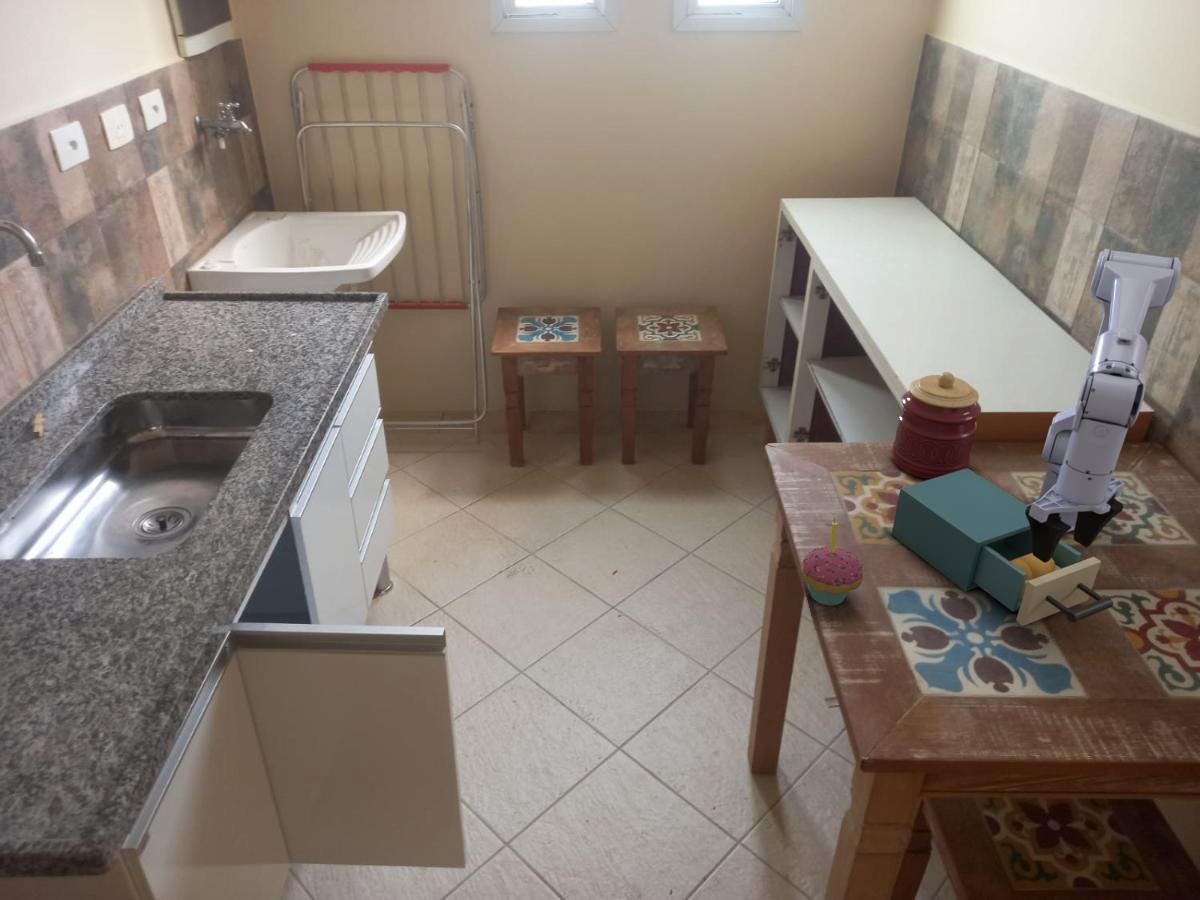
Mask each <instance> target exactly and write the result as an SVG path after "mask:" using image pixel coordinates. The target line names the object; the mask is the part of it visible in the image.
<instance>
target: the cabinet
mask: <svg viewBox="0 0 1200 900" xmlns="http://www.w3.org/2000/svg"><path fill="white" fill-rule="evenodd" d="M1027 505H1028V504H1026V503H1024V502H1022V501H1021V500H1019V499H1017V498H1016V497H1015V496H1013V495H1011V494H1009V493H1008V492H1007V491H1005V490H1004V489H1002V488H1000V487H999V486H997V485H995V484H994V483H992V482H990V481H989V480H987V479H986V478H984V477H983V476H982V475H979V474H978V473H976V472H975V471H974V470H971V469H970V468H968V467H966V469H963V470H960V471H957V472H953V473H950V474H947V475H943V476H940V477H937V478H933V479H926V480H924V481H921V482H917V483H914V484H910V485H907V486H904V487H900V489H899V493H898V498H897V504H896V509H895V514H894V519H893V523H892V528H891V529H892V530H891V535H892V536H893V537H894V538H896V540H898V541H900V542H901V543H902V544H904V545H905V546H906V547H908V549H910V550H911V551H913V553H915V554H917V556H919V557H920V558H921V559H923V560H924V561H925V562H927V563H928V564H929V565H931V566H932V567H933V568H935V569H936V570H937V571H939V572H940V573H941V574H942V575H943V576H945V577H946V578H947V579H948V580H950V581H952V583H954V584H955V585H956V586H958V587H959V588H960V589H962V590H963V592H968V591H971V590H973V589H976V588H979V587H980V586H978V585H977V584H976V583H974V582H973V581H972V579H973V575H974V571H975V567H976V563H977V559H978V556H979V552H980V548H981V546H983V545H986V544H989V543H992V542H995V541H997V540H1000V539H1003V538H1006V537H1009V536H1012V535H1015V534H1018V533H1021V532H1024V531H1026V530H1029V529H1031V528H1030V524H1029V522H1028V519H1027V517H1026V515H1025V511H1026V508H1027Z"/></svg>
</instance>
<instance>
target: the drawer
mask: <svg viewBox="0 0 1200 900" xmlns="http://www.w3.org/2000/svg"><path fill="white" fill-rule="evenodd" d="M1031 553H1033V546H1032V533H1031V529H1029V530H1026V531H1024V532H1021V533H1018V534H1015V535H1012V536H1009V537H1006V538H1003V539H1000V540H997V541H995V542H992V543H989V544H986V545H983V546H981V548H980V552H979V556H978V559H977V563H976V567H975V571H974V575H973V579H972V581H973V582H974V583H976V584H977V585H978V586H979V587H980V588H981V589H982V590H983V591H984V592H986V593H987V594H988V595H990V596H991V597H993V598H994V599H995V600H996V601H998V602H999V603H1001V604H1002V605H1003V606H1005V607H1006V608H1007V609H1009V610H1010V611H1011V612H1016V611H1018V613H1017V616H1016V619H1015V622H1017V623H1019V624H1020V626H1023V627H1024V626H1026V625H1029V624H1031V623H1034V622H1037V621H1039V620H1042V619H1044V618H1047V617H1049V616H1052V615H1055V614H1057V613H1060V612H1062V613H1063V614H1065V615H1066V619H1067V620H1068V622H1070V623H1076V622H1078V621H1081V620H1084V619H1086V618H1089V617H1091V616H1093V615H1096V614H1097V613H1098V614H1099V613H1101V612H1103V611H1105V610H1108V609H1110V608H1112V607H1113V606H1114V601H1113V600H1112V598H1110V597H1108V596H1106V597H1103V596H1101V595H1100V594H1099V593H1097V592H1096V591H1094V590H1093V586H1094V584H1095V581H1096V578H1097V575H1098V573H1099V570H1100V566H1101V564H1102V561H1101V560H1099V559H1098V558H1096V556H1092V557H1090V558H1089V557H1088V558H1087V559H1084V560H1082V561H1080V560H1081V557H1082V552H1080V551H1078V550H1076V549H1075V548H1073V547H1071V546H1070V545H1068V544H1067V543H1066V542H1064V541H1063V540H1062V539H1060V541H1059V543H1058V545H1057V547H1056V549H1055V551H1054V553H1053V556H1052V557H1051V558H1052V559H1053V561H1054V563H1055V565H1057V566H1058V567H1060V568H1061V569H1060V570H1057V571H1054V572H1052V573H1049V574H1046V575H1044V576H1041V577H1038V578H1036V579H1033V580H1030V581H1028V583H1027V586H1026V589H1025V593H1024V596H1023V598H1021V599H1020V597H1021V594H1022V590H1023V587H1024V584H1025V580H1026V577H1027V573H1025V572H1024V571H1022V570H1021V569H1020V568H1018V567H1017V566H1015V565H1014V564H1013V563H1011V562H1010V561H1012V560H1014V559H1017V558H1020V557H1022V556H1025V555H1028V554H1031ZM1089 598H1092V599H1094V600H1095V601H1092V602H1091V603H1088V604H1085V605H1083V606H1080V607H1078V608H1076V609H1073V610H1071V609H1070V608H1072V607H1074V606H1077V605H1079V604H1081V603H1084V602H1087V601H1089Z"/></svg>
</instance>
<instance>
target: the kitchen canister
mask: <svg viewBox="0 0 1200 900" xmlns="http://www.w3.org/2000/svg"><path fill="white" fill-rule="evenodd" d="M979 399H980V395H979V392H978V391H977V390H976V389H975V388H974V387H973V386H972V385H970V384H969V383H968V382H966V381H965V380H963V379H961V378H958V377H955V376H954V375H953V373H952V372H950V371H944V372H942V373H940V374H930V375H926V376H923V377H921V378H917V379H915V380H913V381H911V382H910V384H909V386H908V390H907V391H906V392H905V393H903V395H902V396H901V404H902V406H903V407H902V409H901V410H900V411H899V413H898V422H897V427H896V433H895V438H894V441H893V443H892V449H891V451H892V460H893V463H894V464H895V465H896V466H897V467H898V468H899V469H901V470H902V471H903V472H905V473H907V474H910V475H911V476H914V477H917V478H921V479H924V480H925V479H926V480H930V479H933V478H937V477H940V476H943V475H947V474H950V473H953V472H957V471H960V470H963V469H967V468H968V467H969V463H970V459H971V451H972V447H973V442H974V438H975V434H976V432H977V429H978V424H977V422H976V421H977V418H979V416H980V415H981V413H982V407H981V405H980V403H979V402H978V401H979Z"/></svg>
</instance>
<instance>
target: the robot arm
mask: <svg viewBox="0 0 1200 900" xmlns="http://www.w3.org/2000/svg"><path fill="white" fill-rule="evenodd" d="M1182 265H1183V264H1182V261H1181V260H1180V258H1179V257H1166V256H1159V255H1152V254H1151V255H1150V254H1145V253H1144V254H1143V253H1137V252H1136V253H1135V252H1127V251H1118V250H1112V249H1111V250H1110V248H1104V249H1103V250H1102V251H1100V252H1099V255H1098V258H1097V262H1096V265H1095V268H1094V272H1093V275H1092V280H1091V283H1090V286H1089V287H1090V288H1089V294H1088V295H1089V296H1090V297H1089V300H1090V301H1092V302H1095V303H1097V304H1099V305H1101V309H1102V320H1101V322H1100V326H1099V330H1098V332H1097V333H1098V334H1097V336H1096V340H1095V343H1094V347H1093V350H1092V353H1091V358H1090V361H1089V364H1088V367H1087V370H1086V374H1085V376H1084V377H1083V379H1082V382H1081V386H1080V389H1079V391H1078V392H1079V393H1078V396H1077V400H1076V403H1075V406H1074V407H1071V408H1068V409H1066V410H1063V411H1060V412H1057V413H1056V414H1055V416H1053V417H1052V420H1051V421H1052V422H1051V425H1050V426H1049V429H1048V431H1047V435H1046V439H1045V442H1044V446H1043V448H1042V449H1043V450H1042V453H1041V460H1042V461H1043V463H1045V464H1047V467H1046V472H1045V475H1044V478H1043V481H1042V486H1041V488H1040V492H1039V495H1038V499H1037V500H1036V501H1033V502H1031V503H1029V504H1026V505H1027V508H1026V511H1025V515H1026V517H1027V519H1028V522H1029V524H1030V528H1031V533H1032V546H1033V556H1035V557H1036V558H1038V559H1039V560H1041V561H1042V562H1044V563H1046V562H1048V561H1049V560H1050V559H1051V557H1052V556H1053V553H1054V551H1055V549H1056V547H1057V545H1058V543H1059V541H1060V540H1062V538H1063V537H1064V535H1066V534H1067V533H1070V532H1073V535H1072V536H1073V541H1074V542H1076V543H1077V544H1079V545H1081V546H1082V547H1084V548H1085V549H1087V548H1089V547H1091V545H1092V544H1093V543H1094V542H1095V540H1096V539H1097V537H1098V536H1099V534H1100V533H1101V532H1102V530H1103V529H1104V528H1105V527H1106V525H1107V524H1108V523H1109V522H1110V521H1111V520H1112V519H1113V518H1115V517H1116V516H1117V515H1118V514H1120V513H1121V512H1123V509H1124V504H1123V503H1122V502H1121V501H1119V500H1117V499H1115V498H1118V497H1121V496H1122V494H1123V491H1124V488H1125V485H1126V483H1125V482H1123V481H1121V480H1119V479H1118V478H1116V477H1113V475H1114V472H1115V468H1116V466H1117V463H1118V461H1119V458H1120V454H1121V451H1122V448H1123V445H1124V442H1125V439H1126V436H1127V433H1128V430H1129V427H1130V428H1132V427H1133V426H1134V425H1135V423H1136V421H1137V419H1138V417H1139V415H1140V412H1141V409H1142V406H1143V401H1144V398H1145V392H1146V380H1145V379H1146V375H1145V374H1144V368H1145V362H1146V357H1147V353H1148V346H1149V345H1148V342H1147V340H1146V338H1145V337H1144V336H1143V335H1142V334H1141V331H1142V327H1143V325H1144V321H1145V318H1146V316H1147V313H1148V312H1150V311H1151V312H1152V311H1160V310H1161V309H1163V308H1164V307H1165V306H1166V305H1167V304H1168V303H1169V302H1170V301H1172V299H1173V296H1174V293H1175V290H1176V289H1177V285H1178V282H1179V279H1180V275H1181V271H1182V267H1183V266H1182ZM1129 419H1130V421H1128V420H1129Z"/></svg>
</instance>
